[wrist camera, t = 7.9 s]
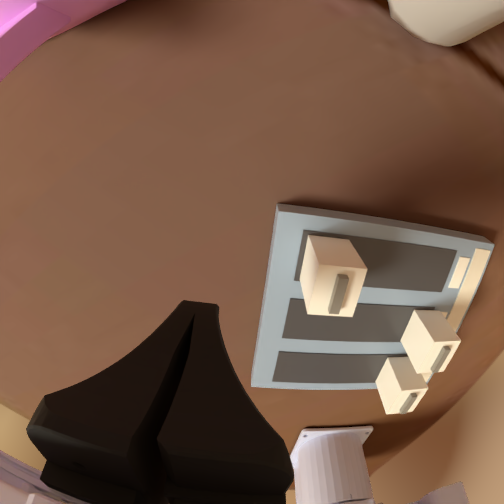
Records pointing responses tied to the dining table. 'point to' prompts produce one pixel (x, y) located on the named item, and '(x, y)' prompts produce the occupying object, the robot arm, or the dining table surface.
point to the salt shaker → (446, 18)
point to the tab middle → (429, 341)
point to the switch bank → (370, 300)
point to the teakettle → (40, 24)
